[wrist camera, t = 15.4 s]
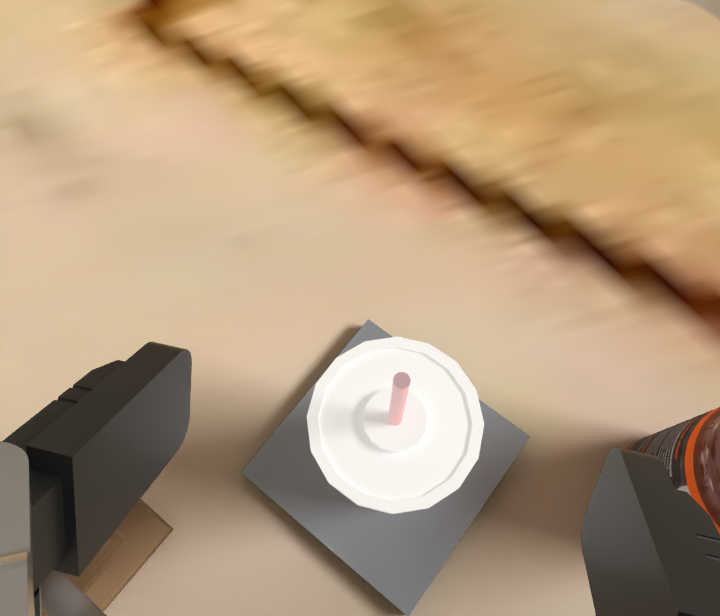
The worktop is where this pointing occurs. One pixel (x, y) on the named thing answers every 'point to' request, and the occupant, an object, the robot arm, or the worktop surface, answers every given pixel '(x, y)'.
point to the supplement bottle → (691, 458)
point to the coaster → (371, 527)
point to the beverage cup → (395, 425)
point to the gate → (106, 567)
